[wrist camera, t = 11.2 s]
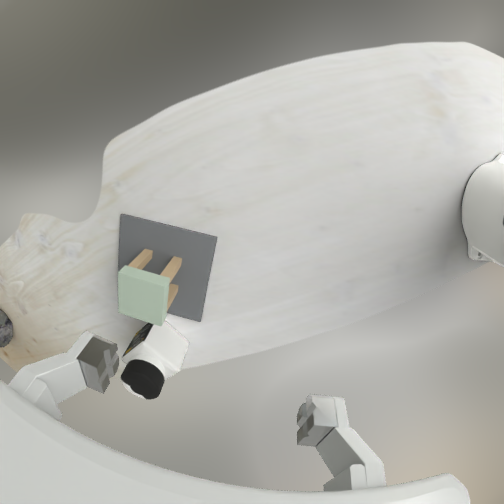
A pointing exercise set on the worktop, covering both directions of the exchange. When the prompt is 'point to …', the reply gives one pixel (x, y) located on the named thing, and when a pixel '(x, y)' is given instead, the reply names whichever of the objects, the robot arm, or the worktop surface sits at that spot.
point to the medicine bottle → (153, 359)
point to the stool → (147, 289)
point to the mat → (164, 249)
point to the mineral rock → (5, 329)
